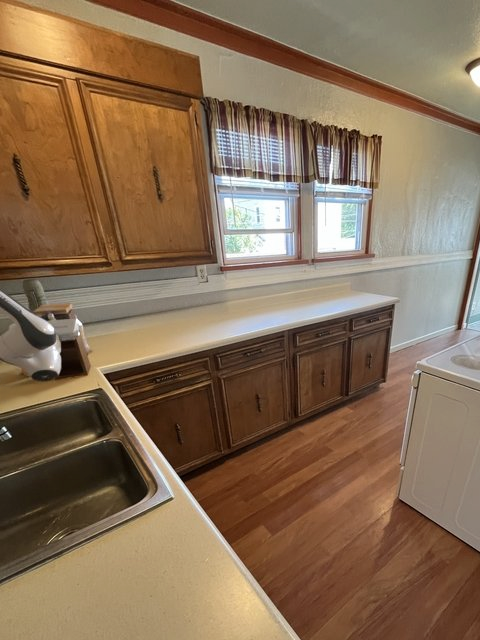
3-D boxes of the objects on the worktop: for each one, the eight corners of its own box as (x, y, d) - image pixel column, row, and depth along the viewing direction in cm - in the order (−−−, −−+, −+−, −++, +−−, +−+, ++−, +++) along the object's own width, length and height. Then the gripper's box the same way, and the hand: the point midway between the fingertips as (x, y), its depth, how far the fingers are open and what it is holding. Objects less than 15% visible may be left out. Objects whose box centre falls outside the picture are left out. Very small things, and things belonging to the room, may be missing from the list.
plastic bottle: (89, 351, 170) (77, 312, 161) (93, 354, 165) (81, 315, 156) (75, 354, 166) (62, 314, 157) (78, 357, 161) (65, 317, 152)
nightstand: (87, 375, 141) (68, 314, 130) (55, 379, 137) (32, 317, 125) (90, 366, 151) (73, 309, 139) (60, 370, 147) (39, 311, 135)
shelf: (63, 318, 123) (62, 313, 122) (28, 321, 119) (26, 316, 118) (73, 306, 143) (71, 302, 142) (43, 309, 139) (41, 304, 138)
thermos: (65, 345, 180) (42, 278, 164) (64, 351, 171) (40, 280, 155) (46, 347, 176) (20, 279, 160) (43, 353, 167) (16, 281, 151)
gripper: (76, 332, 116) (75, 306, 123) (5, 339, 108) (7, 311, 115) (82, 344, 121) (80, 319, 128) (14, 352, 113) (16, 324, 120)
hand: (45, 315), depth 121 cm, fingers closed on shelf, 2 cm apart
